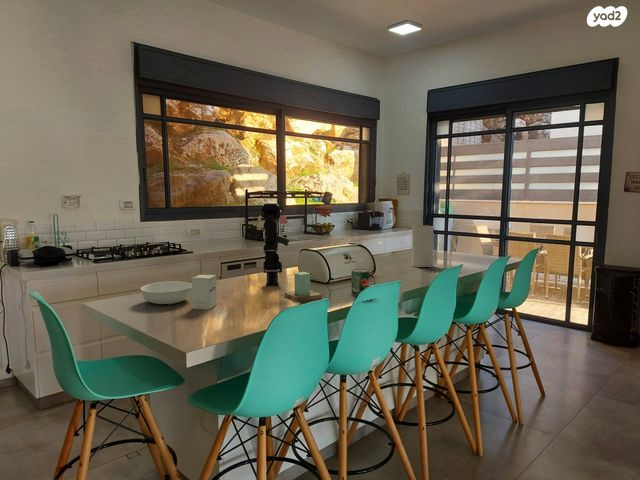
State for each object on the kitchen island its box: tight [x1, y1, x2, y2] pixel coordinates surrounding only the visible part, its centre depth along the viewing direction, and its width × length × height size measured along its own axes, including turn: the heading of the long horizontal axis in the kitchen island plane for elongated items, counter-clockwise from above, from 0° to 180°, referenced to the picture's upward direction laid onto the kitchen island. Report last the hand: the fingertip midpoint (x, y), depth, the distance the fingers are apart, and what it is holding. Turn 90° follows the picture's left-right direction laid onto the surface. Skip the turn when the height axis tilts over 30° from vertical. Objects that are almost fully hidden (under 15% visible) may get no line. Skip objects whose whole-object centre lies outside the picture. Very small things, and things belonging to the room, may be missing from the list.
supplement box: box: [191, 274, 217, 311], centre depth 179 cm, size 7×7×13 cm
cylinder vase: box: [411, 224, 434, 268], centre depth 276 cm, size 12×12×25 cm
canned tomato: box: [351, 268, 370, 297], centre depth 201 cm, size 8×8×11 cm
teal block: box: [293, 271, 311, 295], centre depth 195 cm, size 5×5×9 cm
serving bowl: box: [140, 280, 192, 305], centre depth 188 cm, size 21×21×7 cm
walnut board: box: [284, 289, 323, 303], centre depth 196 cm, size 12×12×2 cm
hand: (271, 263), depth 207 cm, fingers open, 9 cm apart
